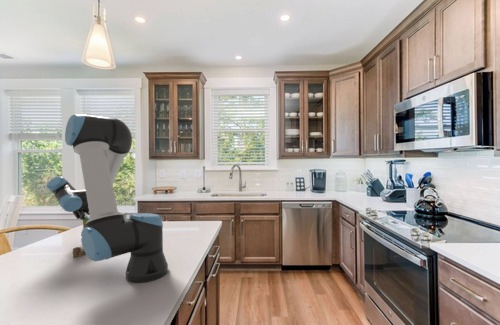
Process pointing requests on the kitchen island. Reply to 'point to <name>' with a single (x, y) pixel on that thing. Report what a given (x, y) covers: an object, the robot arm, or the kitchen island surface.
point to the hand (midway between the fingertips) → (99, 224)
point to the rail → (78, 252)
